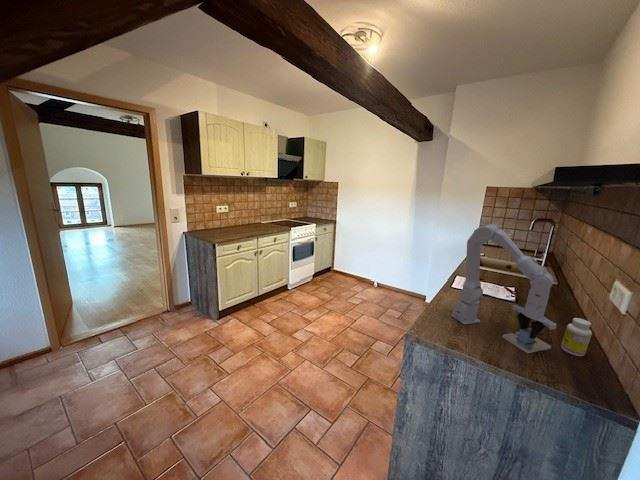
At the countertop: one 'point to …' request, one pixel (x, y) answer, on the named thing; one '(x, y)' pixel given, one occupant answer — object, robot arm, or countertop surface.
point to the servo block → (525, 336)
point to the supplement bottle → (577, 337)
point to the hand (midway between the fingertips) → (527, 335)
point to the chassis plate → (529, 348)
